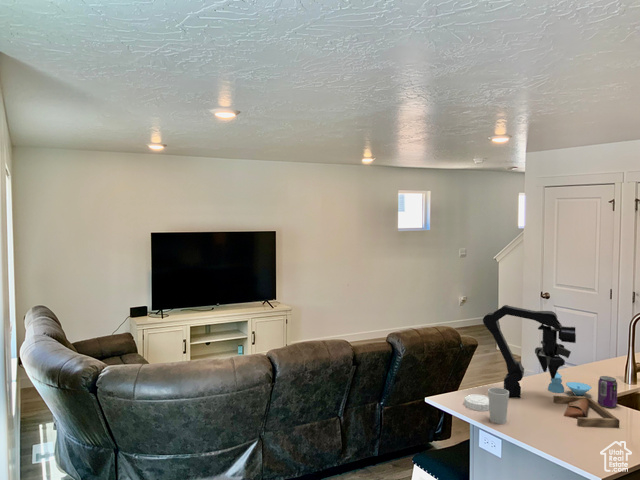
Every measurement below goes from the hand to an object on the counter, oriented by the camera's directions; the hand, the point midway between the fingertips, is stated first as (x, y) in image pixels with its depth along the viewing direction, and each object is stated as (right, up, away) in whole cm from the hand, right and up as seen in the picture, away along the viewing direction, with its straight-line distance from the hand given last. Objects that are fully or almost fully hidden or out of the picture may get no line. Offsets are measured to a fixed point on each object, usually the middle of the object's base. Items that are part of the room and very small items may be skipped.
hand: (548, 375), depth 209 cm
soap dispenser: (+15, -12, +11) cm, 22 cm away
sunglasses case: (+7, -13, -10) cm, 18 cm away
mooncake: (-33, -13, -4) cm, 35 cm away
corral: (+8, -13, -13) cm, 20 cm away
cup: (-30, -13, -20) cm, 38 cm away
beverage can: (+24, -12, -4) cm, 27 cm away
